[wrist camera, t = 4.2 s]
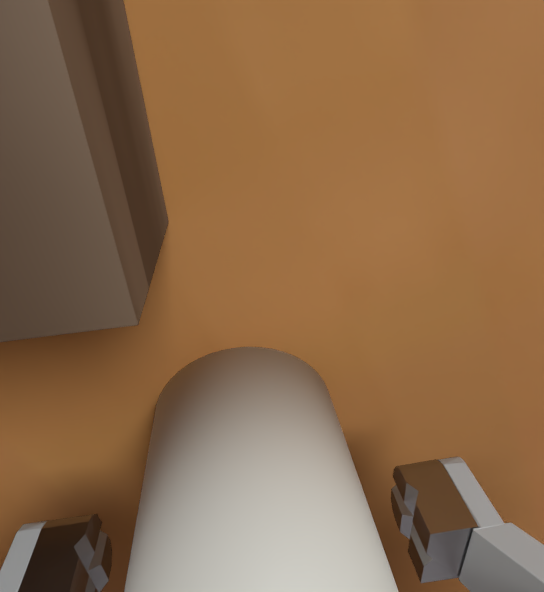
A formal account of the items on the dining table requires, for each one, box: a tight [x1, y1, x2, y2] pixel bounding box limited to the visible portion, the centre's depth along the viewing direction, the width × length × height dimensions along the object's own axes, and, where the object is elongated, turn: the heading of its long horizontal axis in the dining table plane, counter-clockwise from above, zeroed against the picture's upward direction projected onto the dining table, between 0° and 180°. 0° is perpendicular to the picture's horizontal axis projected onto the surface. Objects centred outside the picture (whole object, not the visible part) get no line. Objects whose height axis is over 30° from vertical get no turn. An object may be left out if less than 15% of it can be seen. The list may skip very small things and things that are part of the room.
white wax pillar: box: [124, 347, 399, 592], centre depth 8 cm, size 5×5×8 cm
